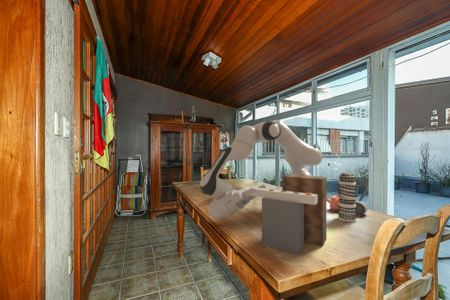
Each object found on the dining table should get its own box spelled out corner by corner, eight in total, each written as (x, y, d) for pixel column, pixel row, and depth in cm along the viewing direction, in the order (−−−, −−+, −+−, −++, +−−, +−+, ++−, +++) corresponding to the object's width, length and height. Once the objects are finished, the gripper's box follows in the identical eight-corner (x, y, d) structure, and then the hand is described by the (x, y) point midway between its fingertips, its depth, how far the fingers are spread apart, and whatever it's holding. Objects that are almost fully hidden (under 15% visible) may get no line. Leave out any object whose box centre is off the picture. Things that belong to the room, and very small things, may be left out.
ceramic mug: (368, 214, 120) (368, 201, 121) (365, 217, 115) (365, 203, 115) (347, 210, 128) (347, 198, 128) (344, 213, 122) (343, 200, 122)
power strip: (249, 195, 87) (249, 187, 87) (253, 194, 90) (253, 186, 90) (315, 205, 72) (315, 195, 72) (317, 202, 75) (317, 193, 75)
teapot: (323, 208, 133) (323, 193, 133) (341, 207, 134) (341, 193, 134) (333, 213, 122) (333, 197, 122) (353, 213, 122) (353, 196, 122)
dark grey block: (261, 244, 81) (261, 198, 81) (270, 237, 88) (270, 195, 88) (297, 254, 73) (297, 203, 73) (303, 246, 80) (303, 199, 80)
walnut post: (282, 236, 89) (282, 176, 89) (288, 230, 95) (288, 174, 95) (322, 246, 79) (322, 179, 80) (326, 239, 86) (326, 177, 86)
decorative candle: (336, 220, 110) (336, 173, 110) (338, 215, 118) (338, 171, 118) (356, 223, 105) (356, 174, 105) (357, 218, 113) (357, 172, 113)
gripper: (219, 197, 86) (244, 184, 79) (244, 190, 102) (266, 178, 95) (225, 212, 84) (251, 199, 77) (249, 202, 100) (272, 190, 94)
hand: (259, 187), depth 86 cm, fingers open, 8 cm apart
